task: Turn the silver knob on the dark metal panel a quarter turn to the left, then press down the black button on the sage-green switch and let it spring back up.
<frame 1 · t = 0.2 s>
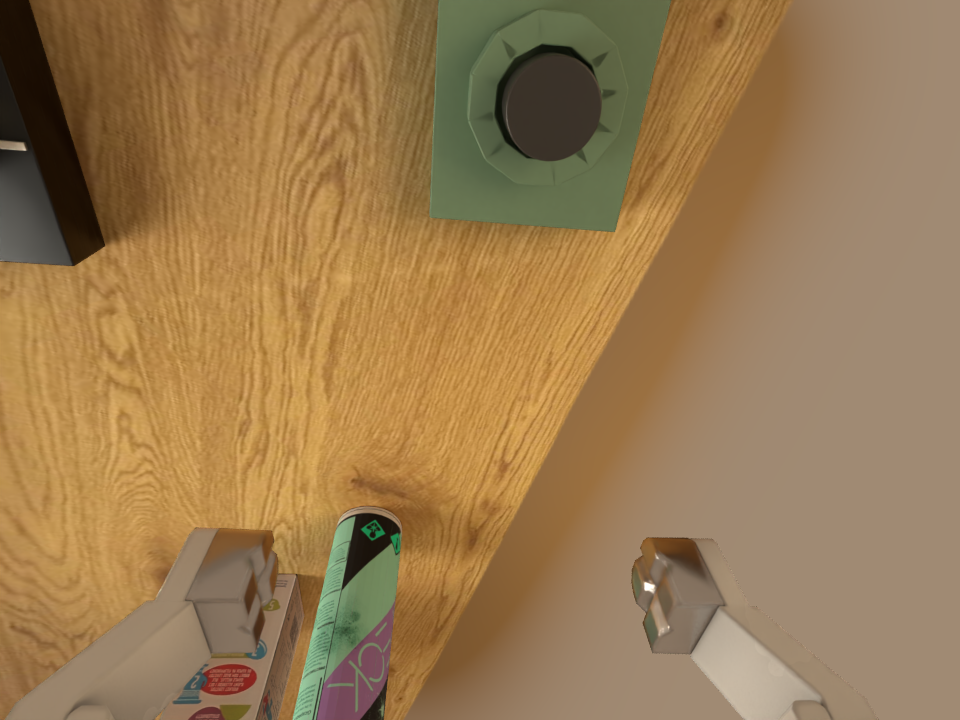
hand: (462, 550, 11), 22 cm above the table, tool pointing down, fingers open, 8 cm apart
button: (550, 107, 22), point 5 cm above the table, slide at 0.2 cm
spray can: (370, 525, 44), on the table
juice carton: (265, 593, 49), on the table
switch: (534, 93, 26), on the table
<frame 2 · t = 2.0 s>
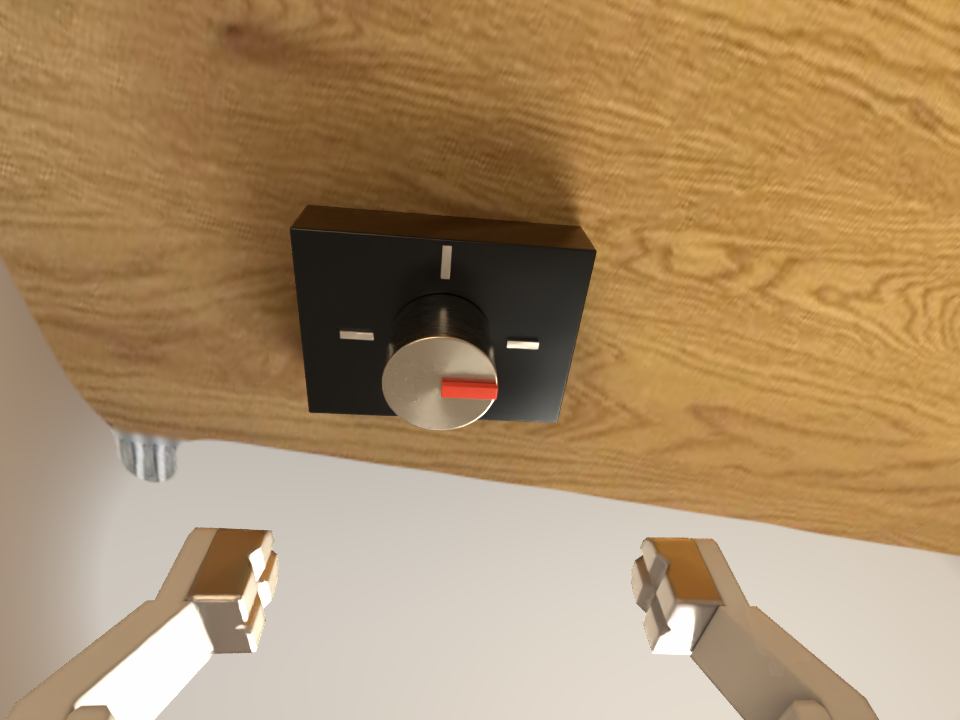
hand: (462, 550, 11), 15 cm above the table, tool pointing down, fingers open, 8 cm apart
knob: (440, 363, 21), point 5 cm above the table, hinge at 0.0°
panel: (441, 306, 25), on the table
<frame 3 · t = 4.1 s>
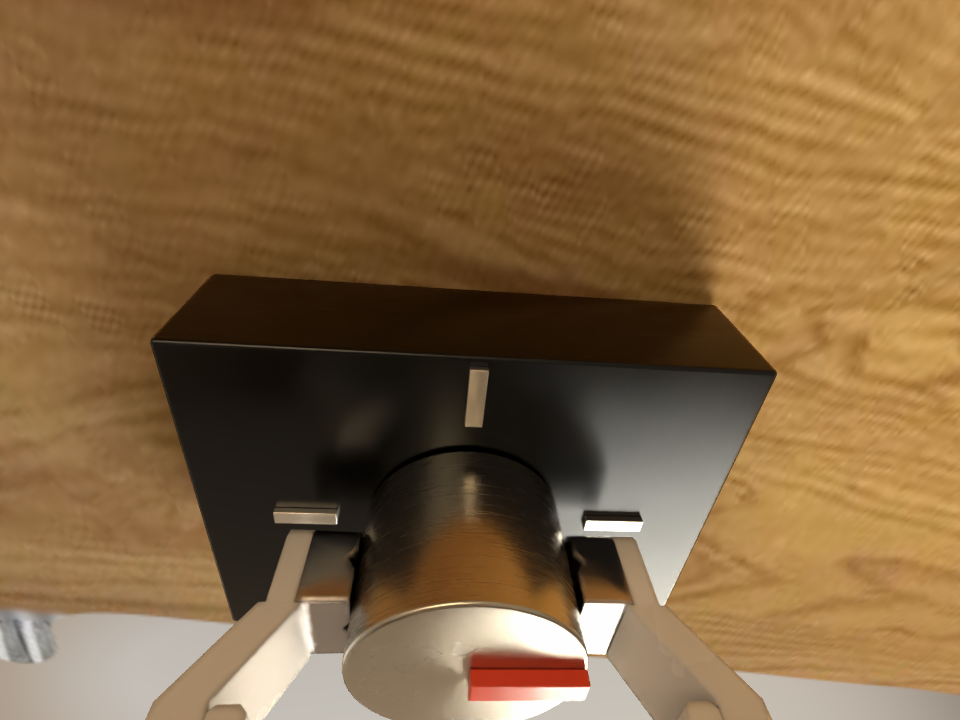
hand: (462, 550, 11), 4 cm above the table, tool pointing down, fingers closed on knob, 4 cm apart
knob: (464, 593, 11), point 5 cm above the table, hinge at -0.3°, touching gripper
panel: (461, 432, 15), on the table
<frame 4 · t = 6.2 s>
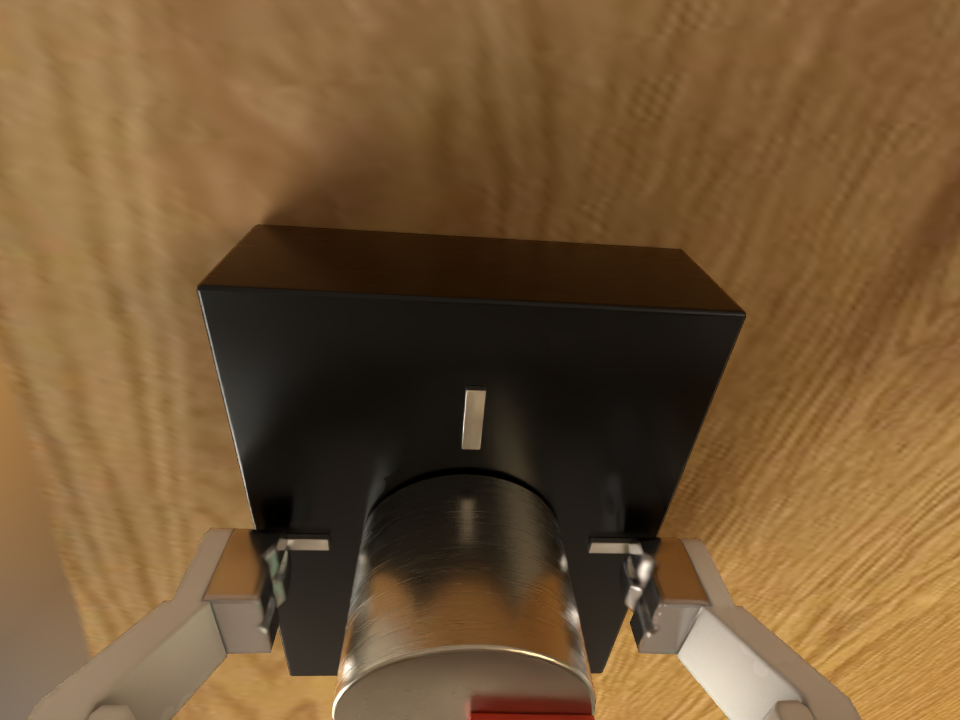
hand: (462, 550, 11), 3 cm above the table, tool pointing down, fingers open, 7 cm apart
knob: (463, 625, 10), point 5 cm above the table, hinge at 86.1°
panel: (460, 448, 14), on the table
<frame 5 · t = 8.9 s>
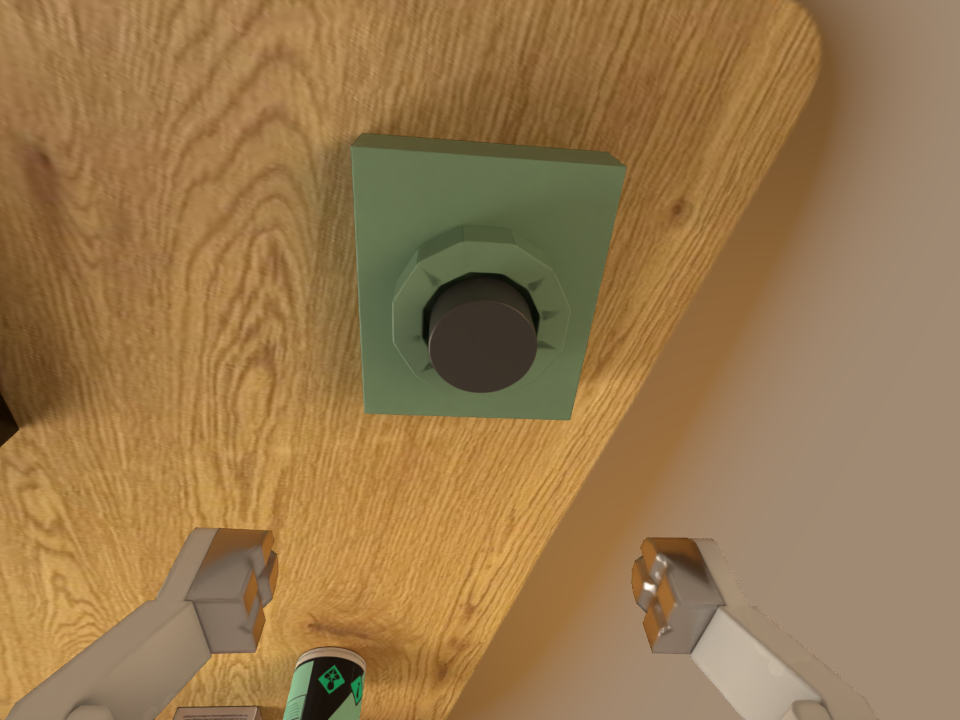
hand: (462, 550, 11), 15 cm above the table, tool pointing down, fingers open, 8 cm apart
button: (481, 335, 20), point 5 cm above the table, slide at 0.2 cm
spray can: (332, 662, 42), on the table
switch: (476, 280, 24), on the table
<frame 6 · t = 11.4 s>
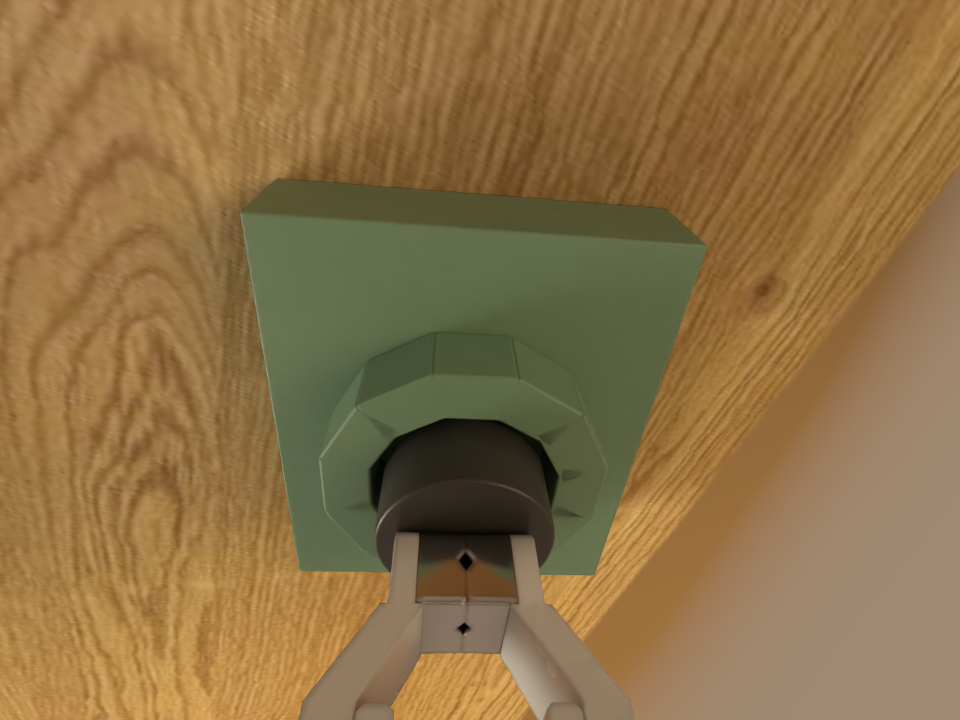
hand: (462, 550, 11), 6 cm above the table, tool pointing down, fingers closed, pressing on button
button: (464, 508, 12), point 5 cm above the table, slide at 0.0 cm, touching gripper
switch: (461, 383, 16), on the table
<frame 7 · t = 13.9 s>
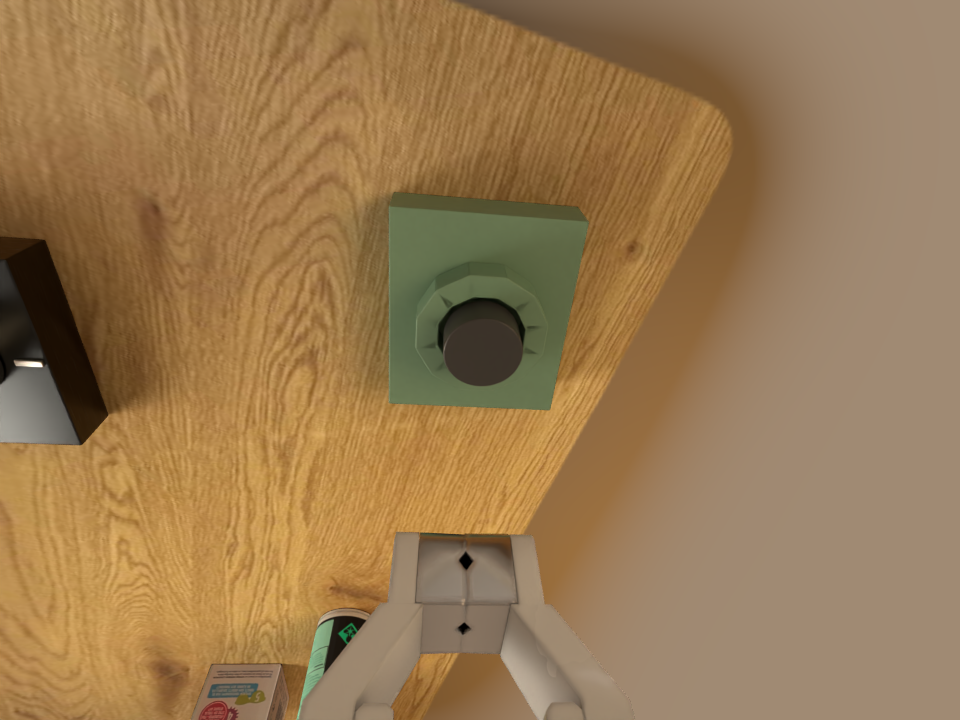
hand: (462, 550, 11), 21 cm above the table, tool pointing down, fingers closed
button: (482, 343, 27), point 5 cm above the table, slide at 0.2 cm
spray can: (348, 623, 48), on the table
juice carton: (252, 679, 53), on the table
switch: (477, 300, 31), on the table
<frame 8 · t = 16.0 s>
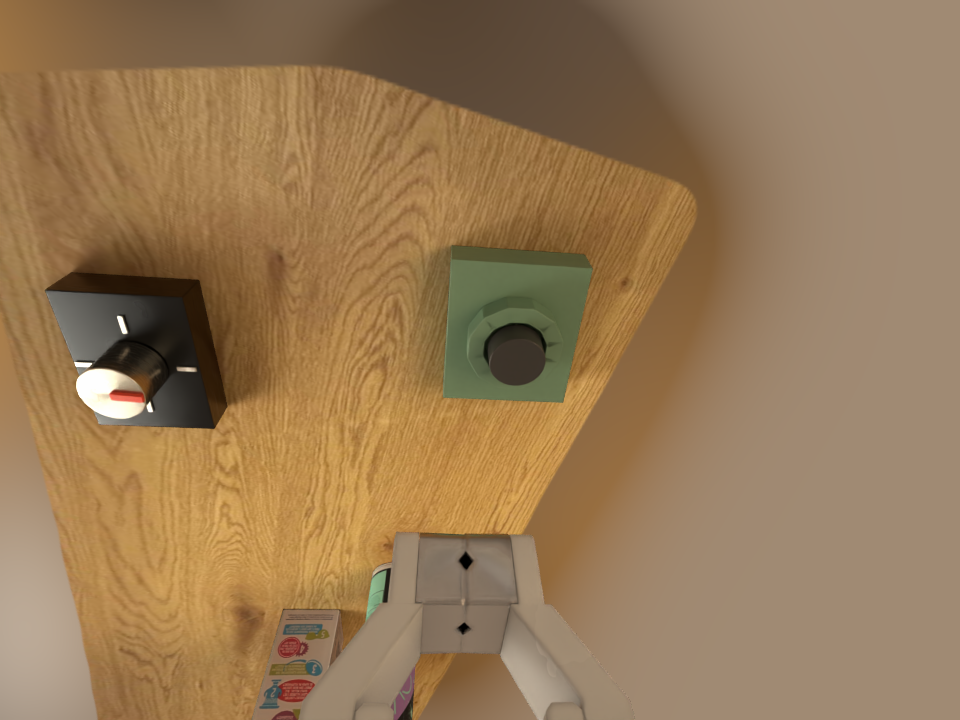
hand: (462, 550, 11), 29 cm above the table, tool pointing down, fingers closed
button: (516, 355, 37), point 5 cm above the table, slide at 0.2 cm
spray can: (396, 575, 59), on the table
knob: (123, 381, 37), point 5 cm above the table, hinge at 86.1°
juice carton: (314, 623, 64), on the table
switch: (509, 320, 42), on the table
panel: (156, 345, 41), on the table
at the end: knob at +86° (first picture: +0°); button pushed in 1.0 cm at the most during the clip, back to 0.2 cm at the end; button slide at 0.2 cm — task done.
